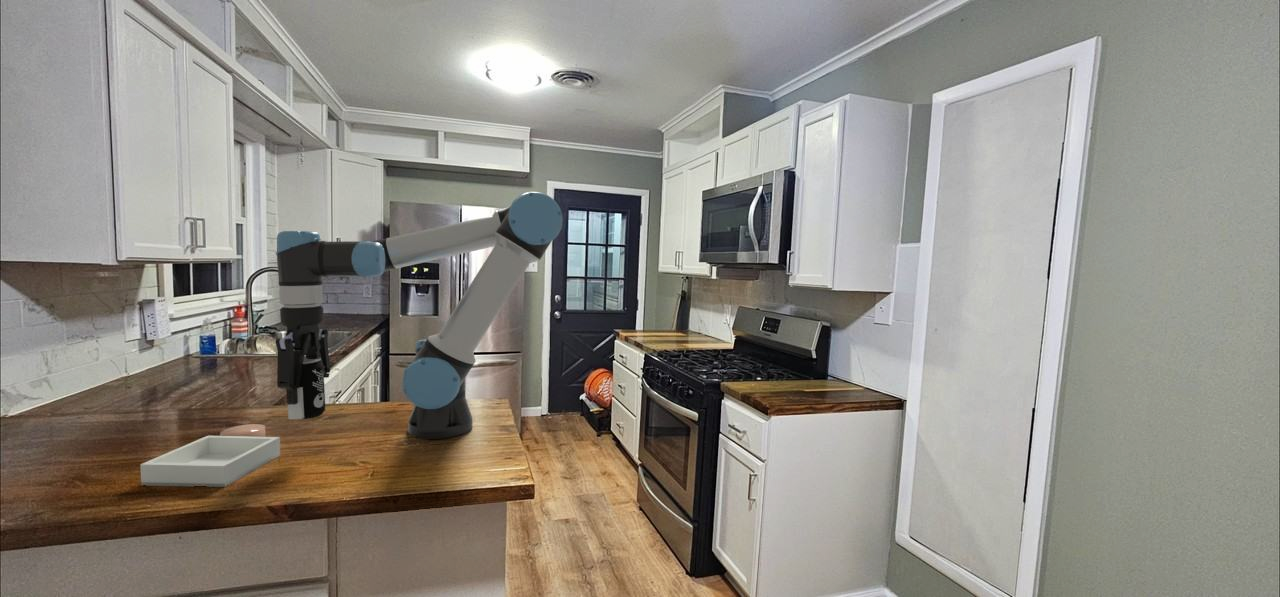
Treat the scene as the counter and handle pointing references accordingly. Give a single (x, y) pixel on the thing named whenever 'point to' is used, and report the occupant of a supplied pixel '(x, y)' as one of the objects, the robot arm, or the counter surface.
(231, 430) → the pink shiny round part
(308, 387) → the beverage can
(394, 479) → the counter surface
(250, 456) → the white square tray
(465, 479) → the counter surface
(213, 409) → the counter surface
